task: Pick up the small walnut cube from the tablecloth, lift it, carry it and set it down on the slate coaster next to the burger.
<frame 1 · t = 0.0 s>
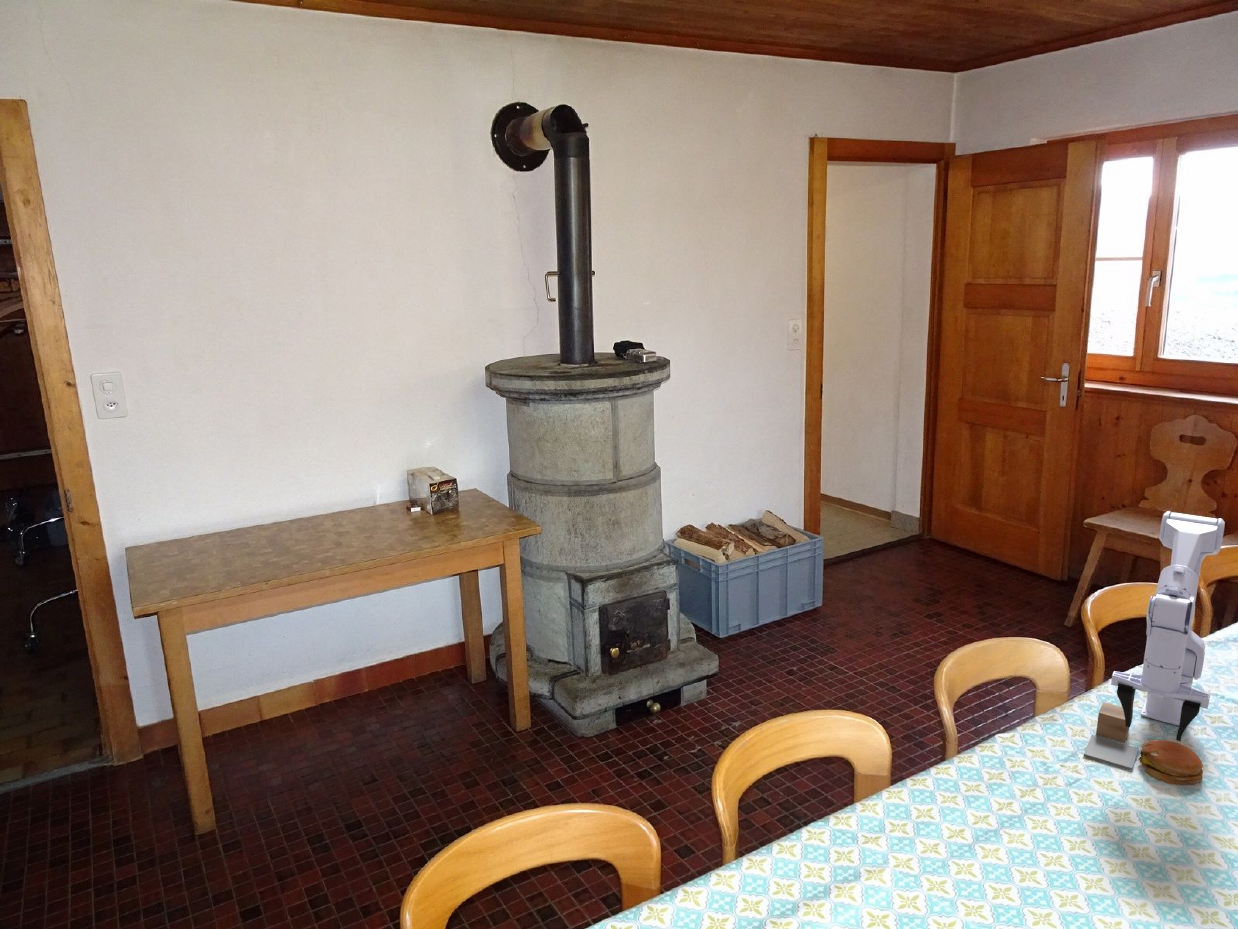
hand: (1153, 731, 154), 10 cm above the table, tool pointing down, fingers open, 7 cm apart
walnut cube: (1112, 733, 171), on the table
slate coaster: (1111, 753, 165), on the table
burger: (1169, 773, 159), on the table
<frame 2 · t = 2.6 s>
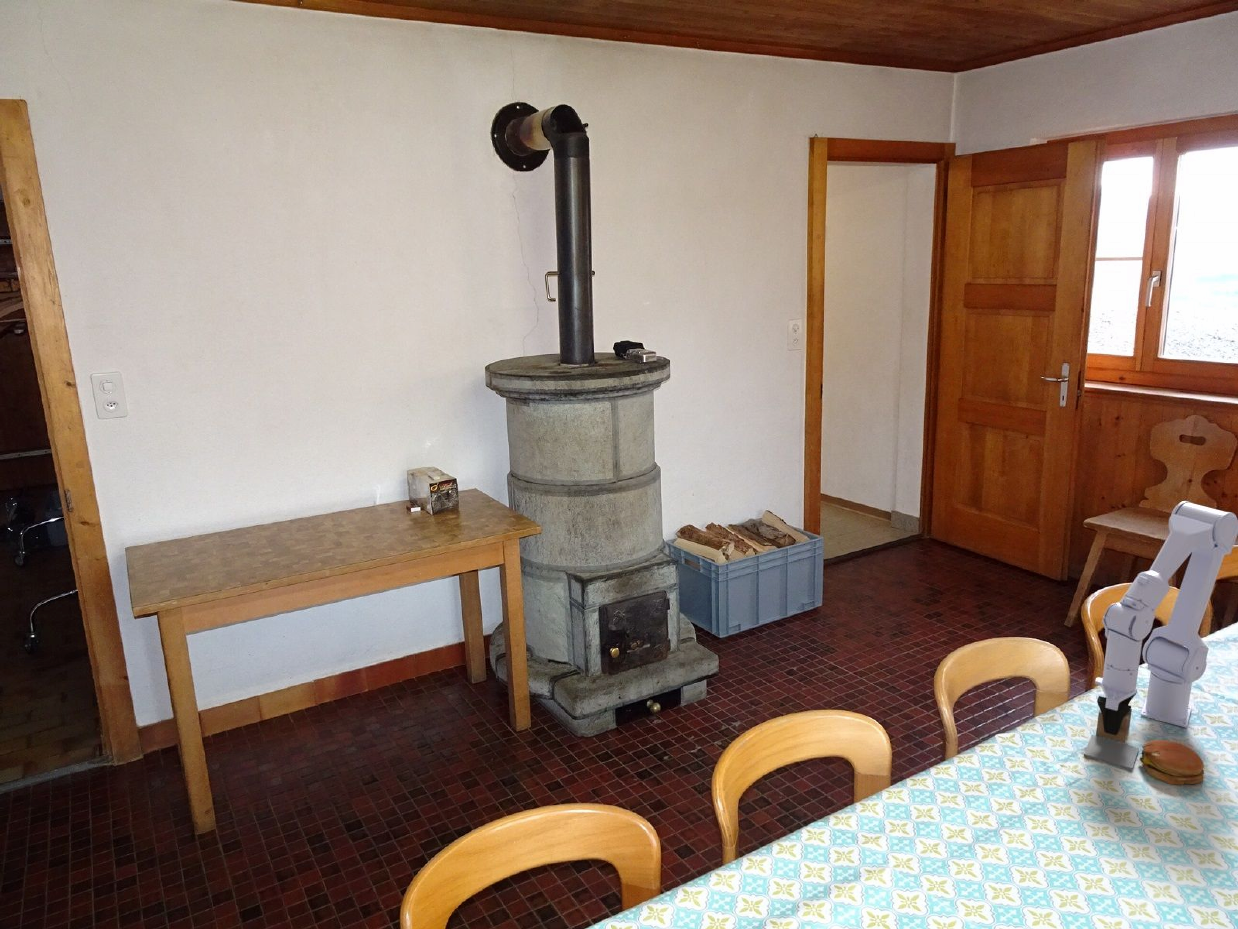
hand: (1113, 726, 171), 1 cm above the table, tool pointing down, fingers closed on walnut cube, 5 cm apart
walnut cube: (1112, 733, 171), on the table, touching gripper
everything else where it was.
when the fingers open (3 cm above the table, at t = 5.9 s): walnut cube stays where it is, resting on slate coaster.
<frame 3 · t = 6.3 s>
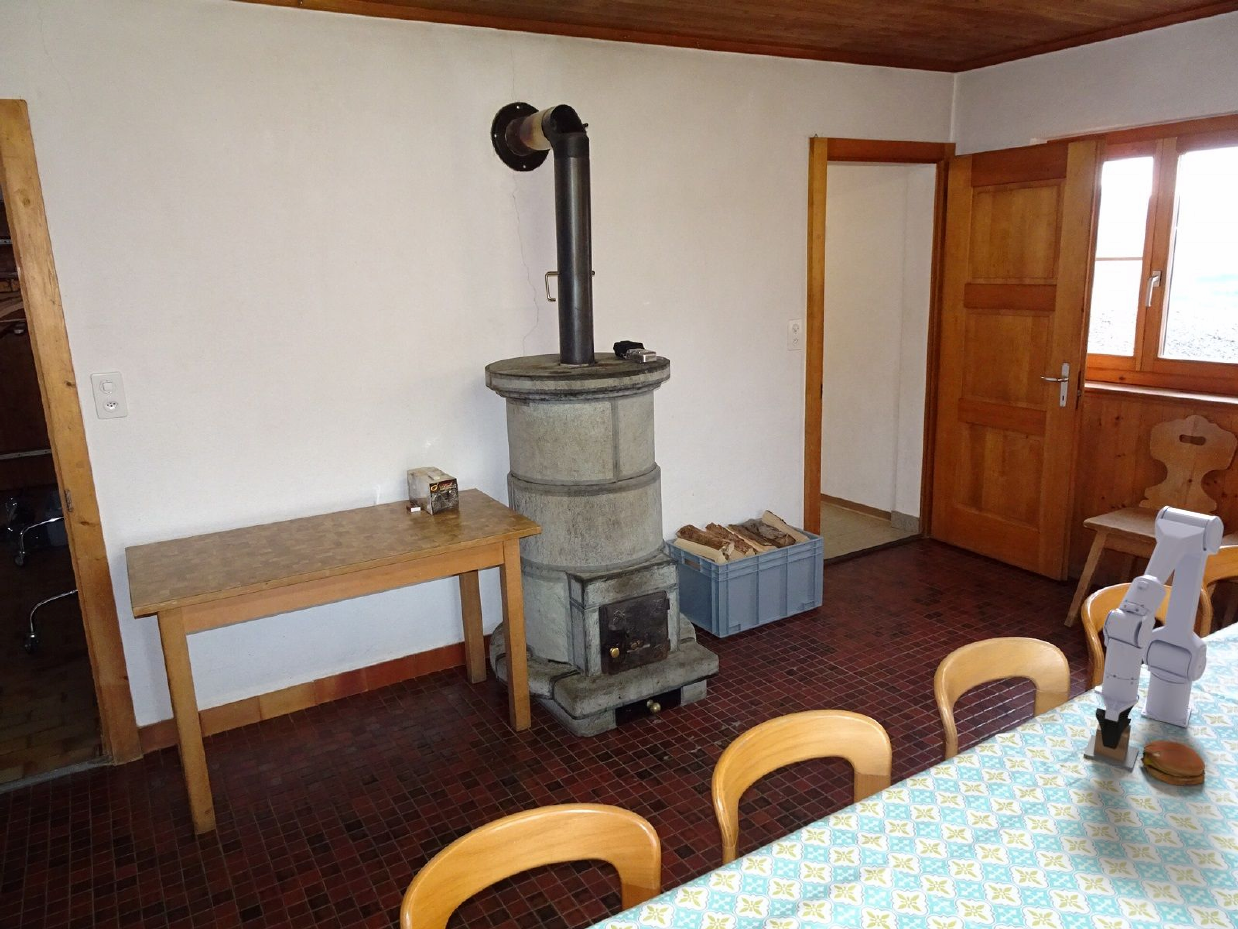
hand: (1113, 737, 164), 3 cm above the table, tool pointing down, fingers open, 7 cm apart
walnut cube: (1110, 750, 165), point 1 cm above the table, touching slate coaster
everything else where it was.
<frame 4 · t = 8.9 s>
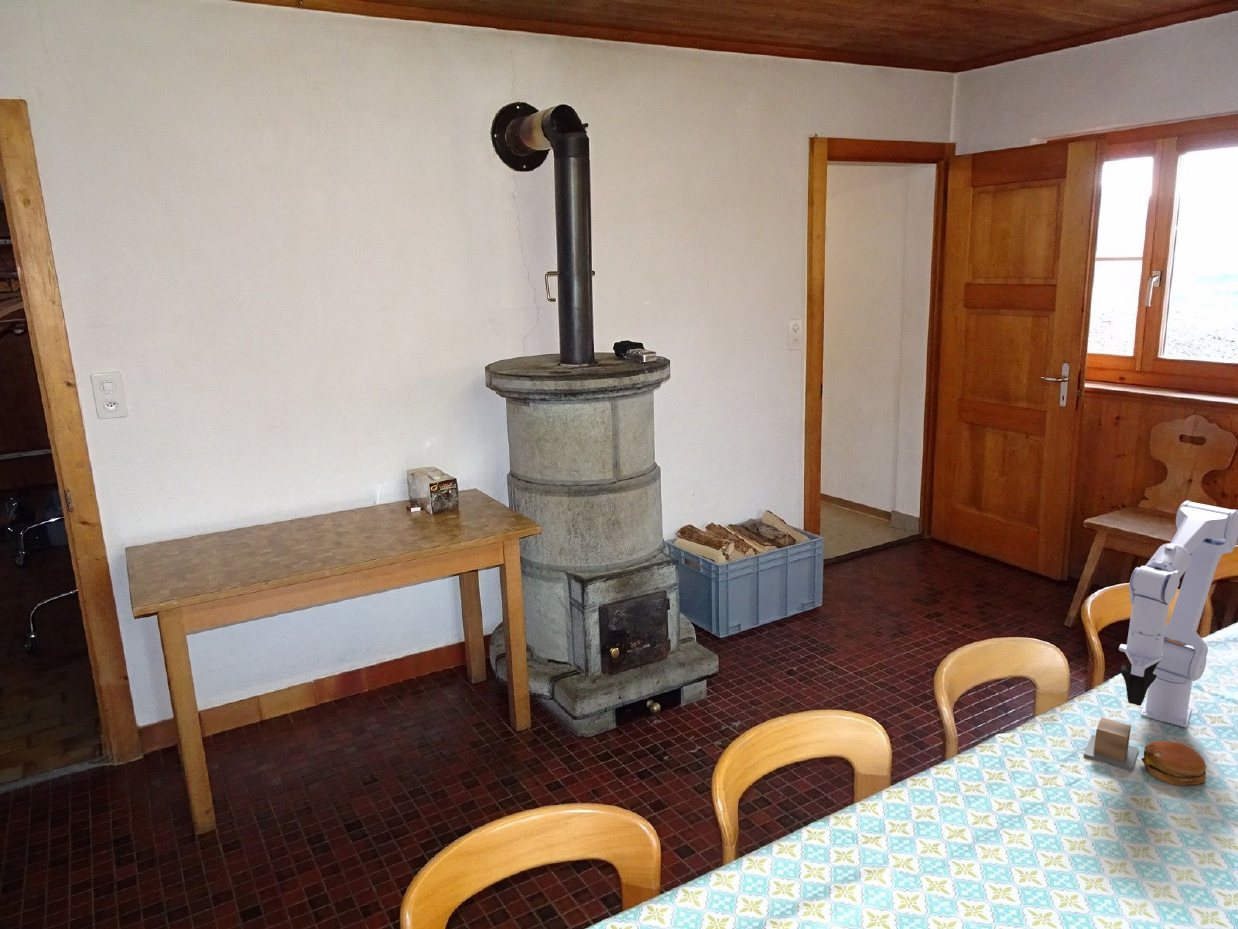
hand: (1137, 695, 165), 10 cm above the table, tool pointing down, fingers open, 7 cm apart
nothing on the table moved.
at the end: walnut cube inside the target area on the slate coaster (0.1 cm from its centre), point 0.6 cm above the slate coaster's base; walnut cube tilted 0°; the gripper is holding nothing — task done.
